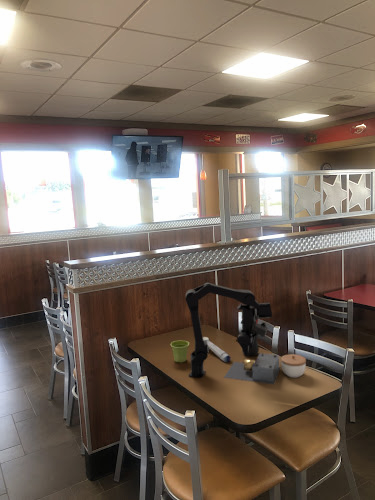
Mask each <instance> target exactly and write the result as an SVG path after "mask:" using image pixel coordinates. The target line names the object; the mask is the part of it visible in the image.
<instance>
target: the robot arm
mask: <svg viewBox="0 0 375 500" xmlns="http://www.w3.org/2000/svg"><path fill="white" fill-rule="evenodd" d="M208 294H213V295H218V296H222V297H226V298H230V299H234V300H236V301H237V302H239V304H238V305H237V309H238V311H241V320H240V324H241V330H240V334H238V336H237V337H236V342H237V343H238V344H239V346H240V348H241V350H243V351H242V353H243V352H244V354H245V355H248V350H249V347H250V348H252V346H253V342H254V338H255V336H256V335H257V334H258V336H259V335H260V336H261V337H265V336H266V334H267V333H268V332H267V331H268V329H269V328H268V326H267V323H266V322H264V321H263V322H261V323H258V324H257V323H256V319H255V314H256V316H258V319H271V318H272V316H273V312H272V305H271V303H270V302H263V303H261V302H260V303H259V302H258V301H257V300H256V296H255V294H254V293H253V292H252V291H251V290H249V289H235V288H231V287H226V286H222V285H219V284H215V283H211V282H205V283H204V284H202V285H200V286H197V287H195V288H191V289H188V290H187V291H186V292H185V302H186V306H187V307H188V310H189V313H190V318H191V324H192V330H193V337H194V350H193V351H192V352H191V353H190V373H189V374H188V377H189V378H190V377H191V378H196V379H197V378H198V379H201V378H203V377H204V376H205V375H206V373H207V371H206V370H205V369H204V361H205V360H206V359H208V354H210V352H209V350H210V349H209V350H208V345H207V340H206V341H204V340H203V337H204V336H203V332H202V327H201V326H202V325H201V320H200V313H199V300H201V299H203V298H204V297H205V296H206V295H208ZM249 305H251V306H249ZM242 333H244V334H242ZM244 354H243V355H244ZM245 355H244V356H245Z"/></svg>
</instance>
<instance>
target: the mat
mask: <svg viewBox="0 0 375 500" xmlns="http://www.w3.org/2000/svg"><path fill="white" fill-rule="evenodd" d="M281 369H282V366H281V367H280V366H279V370H278V372H277V375H276V378H275V380H274V383H268V382H261V381H254V380H253V371H246V370H244V362H239V361H233V362H232V365H230V367H229V369H227V370H228V371H227V372H226V373H225V375H224V377H223V378H225V379H231V380H232V379H234V380H239V381H247V382H255V383H261V384H268V385H269V384H270V385H275V383H276V381H277V378H278V375H279V373H280V371H281Z"/></svg>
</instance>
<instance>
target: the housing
mask: <svg viewBox="0 0 375 500" xmlns="http://www.w3.org/2000/svg"><path fill="white" fill-rule="evenodd" d="M257 355H258V356H257V357H256V359H255V360H256V361H255V363H254V365H253V366H252V370H253V380H254V381H261V382H268V383H274V380H275V378H276V375H277V372H278V370H279V367H280V355H279V354H273V353H264V352H263V353H262V352H258V354H257ZM279 371H280V370H279ZM276 379H277V378H276Z"/></svg>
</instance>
